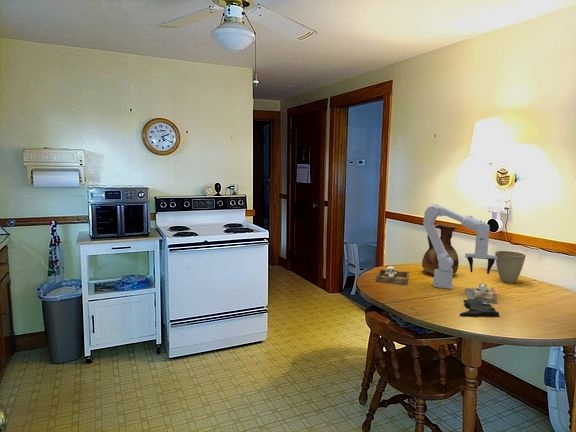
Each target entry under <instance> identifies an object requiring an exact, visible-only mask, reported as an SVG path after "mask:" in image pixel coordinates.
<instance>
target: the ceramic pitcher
mask: <svg viewBox="0 0 576 432" xmlns="http://www.w3.org/2000/svg"><path fill="white" fill-rule="evenodd" d="M434 226H435V228H436V229H437V228H438V229H439V230H440V235H439V237H440V239H441V241H442V243H443V246H444V248H445V250H446V252H447V253H448V254H449V256H450V257H451V258H452V259H453V261H454V263H453V265H452V266H451V267H452V269H453V275H454V274H455V275H456V273H457V272H458V269H459V265H460V263H459V261H460V260H459V255H458V253H457V250H456V249H455V248H454V246H452V240H451V239H452V238H453V232H454V231H455V230H456V229H458V227H457V226H456V225H454V226H453V225H447V224H444V223H437V224H434ZM426 238H427V242H428V249H427V250H426V251H425V253H424V254H423V257H422V260H421V267H422V269H423V270H424V271H425V272H427V273H429V274H432V275H434V269H438V268H439V266H438V263H439V262H438V259H437V254H436V252H435V249H434V247H433V245H432V243H431V240H430V238H429V236H428V234H427V237H426Z"/></svg>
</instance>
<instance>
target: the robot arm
mask: <svg viewBox="0 0 576 432" xmlns="http://www.w3.org/2000/svg"><path fill="white" fill-rule="evenodd" d="M423 214H424V216H423V217H424V218H423V223H422V224H423V227H424V229H425V232H426V234H427V235H428V236H429V238H430V240H431V243H432V245H433V247H434V249H435V252H436V254H437V259H438V262H439V263H438V266H439V268H438V269H434V274H433V279H432V283H433V288H441V289H448V290H450V289H451V290H453V289H454V286H453V275H454V274H453V269H452V267H451V266H452V265H453V263H454V261H453V259H452V258H451V257H450V256H449V254H448V253H447V252H446V250H445V248H444V246H443V243H442V241H441V239H440V233H439V232H438V231H437V227H436V228H435V226H434V225H435V224H434V223H435V221H436V219H437V218H438V217H448V218H450V219H453V220H456V221H458V222H459V223H461V226H463V227H464V228H467V229H468V230H471V231H473V232H475V231H476V237H475V246H474V247H475V248H474V253H467V252H466V253H464V259H465V258H466V259H467V261H468V265H469V270H470V273H473V265H474V264H473V263H474V259H478V260H487V270H486V274H487V275H489V274H490V272H491V269H492V267H493V265H494V264H495V263H496V260H497V256H495V255H492V254H488V249H489V239H490V238H489V237H490V236H489V232H490V228H491V227H490V225H489V224H488V223H487V222H485V221H482V219H480V220H478V219H477V218H474V217H473V215H465V216H464V215H462V214H459V213H458V212H455V211H453V210H451V209H450V208H447V207H446V206H445V207H444V206H442V205H439V204H436V203H435V204H432V205H429V206H428V207H427V208H426V209H425V211H424V213H423Z"/></svg>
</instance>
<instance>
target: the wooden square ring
mask: <svg viewBox="0 0 576 432" xmlns="http://www.w3.org/2000/svg"><path fill="white" fill-rule="evenodd" d="M472 288H473V296H474V298H480V299H489V300H493V292H492V290H491V288H487V292H481V291H479V286H478V287H476V286H473V287H472Z"/></svg>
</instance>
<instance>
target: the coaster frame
mask: <svg viewBox="0 0 576 432" xmlns="http://www.w3.org/2000/svg"><path fill="white" fill-rule="evenodd" d="M396 271H397V277H396V278H391V277H385V269H381V268H379V270H378V272H377V275H376V277H375V278H376V281H375V282H376V283H384V284H385V283H386V284H394V285H402V286H403V285H404V286H408V284H409V283H408V282H409V276H410V271H400V270H396Z"/></svg>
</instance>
